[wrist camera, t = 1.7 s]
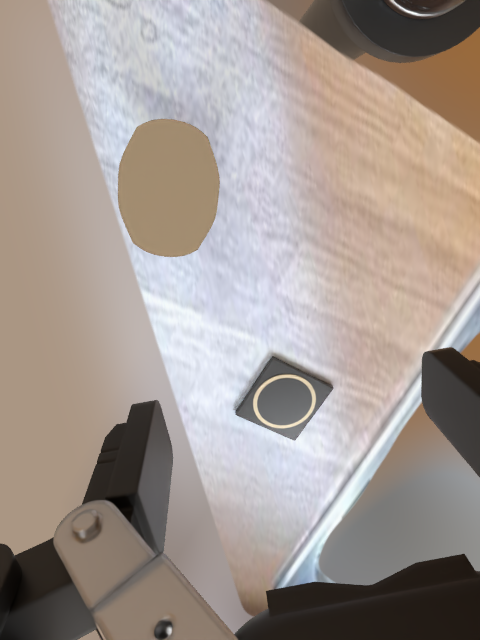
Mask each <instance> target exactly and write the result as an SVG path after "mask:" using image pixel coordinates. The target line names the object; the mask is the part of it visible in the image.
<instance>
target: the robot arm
mask: <svg viewBox="0 0 480 640" xmlns="http://www.w3.org/2000/svg"><path fill="white" fill-rule="evenodd" d="M382 1H383V2H384V3H385V4H386V5H387V6H388V7H389V8H390V9H392V10H393V11H394V12H396V13H397V14H399V15H401V16H404V17H406V18H410V19H416V20H424V19H431V18H435V17H438V16H441V15H443V14H445V13H447V12H449V11H450V10H452V9H454V8H456V7H457V6H459V5H460V4H462V3H463V2H464V1H465V0H382ZM421 397H422V403H423V406H424V409H425V411H426V413H427V415H428V416H429V418H430V419H431V420H432V421H433V422H434V424H435V425H436V426H437V427H438V428H439V429H440V431H441V432H442V433H443V434H444V435H445V437H446V438H447V439H448V440H449V441H450V442H451V444H452V445H453V446H454V447H455V448H456V450H457V451H458V452H459V453H460V454H461V456H462V457H463V458H464V459H465V460H466V461H467V463H468V464H469V465H470V466H471V467H472V468H473V470H474V471H475V472H476V473H477V475H478V476H479V477H480V362H477V361H475V360H471V361H469V360H468V359H467V358H465V357H464V356H463V355H461V354H460V353H459V352H458V351H456V350H455V349H454V348H452V347H449V348H443V349H438V350H432V351H427V352H425V353H424V354H423V357H422V390H421ZM172 465H173V453H172V445H171V441H170V437H169V434H168V430H167V427H166V423H165V420H164V416H163V413H162V409H161V406H160V403H159V401H158V400H154V401H149V402H143V403H138V404H133V405H132V406H131V409H130V412H129V416H128V419H127V423H122V424H117V425H116V426H115V427H114V428H113V429H112V430H111V431H110V433H109V434H108V435H107V436H106V437H105V440H104V443H103V446H102V449H101V453H100V454H99V457H98V460H97V465H96V466H95V469H94V472H93V475H92V478H91V480H90V483H89V486H88V489H87V492H86V495H85V497H84V500H83V503H82V505H81V506H79V507H77V508H76V509H74V510H73V511H72V512H70V513H69V514H68V515H67V516H66V517H65V518H64V519H63V520H62V521H61V522H60V524H59V525H58V527H57V529H56V531H55V534H54V537H53V538H52V539H50V540H48V541H46V542H44V543H42V544H39V545H37V546H35V547H33V548H30V549H28V550H26V551H24V552H22V553H19V554H17V555H15V556H14V554H13V552H12V551H11V549H10V548H9V547H8V546H7V545H5V544H0V640H77V639H79V638H81V637H83V636H85V635H87V634H89V633H90V632H92V631H94V630H96V632H97V634H98V636H99V638H100V640H480V571H475V570H474V568H473V567H472V565H471V563H470V562H469V561H468V559H467V557H466V556H465V554H461V555H455V556H450V557H445V558H439V559H434V560H429V561H423V562H418V563H415V564H413V565H411V566H409V567H407V568H405V569H403V570H401V571H399V572H397V573H395V574H393V575H391V576H389V577H387V578H385V579H383V580H381V581H379V582H377V583H375V584H373V585H367V586H364V585H351V584H337V583H324V582H311V583H306V584H301V585H295V586H290V587H285V588H279V589H274V590H269V591H266V594H267V601H268V609H267V610H265V611H263V612H261V613H259V614H258V615H256V616H255V617H253V618H252V619H250V620H249V621H248V622H247V623H245V624H244V625H243V626H242V627H241V628H240V629H239V630H238V631H237V632H236V633H235V634H233V633H232V632H231V630H230V629H229V628H228V627H227V626H226V624H225V623H224V622H223V621H222V620H221V619H220V617H219V616H218V615H217V614H216V613H215V612H214V611H213V609H212V608H211V607H210V606H209V604H207V602H206V601H205V600H204V599H203V598H202V597H201V595H200V594H199V593H198V592H197V590H196V589H195V588H194V587H193V586H192V585H191V584H190V582H189V581H188V580H187V579H186V577H185V576H184V575H183V574H182V573H181V572H180V570H179V569H178V568H177V567H176V566H175V565H174V563H173V562H172V561H171V560H170V559H169V558H168V557H167V556H166V555H165V554H164V553H163V551H164V542H165V532H166V523H167V513H168V503H169V493H170V484H171V475H172Z"/></svg>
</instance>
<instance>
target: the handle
mask: <svg viewBox="0 0 480 640" xmlns="http://www.w3.org/2000/svg"><path fill="white" fill-rule="evenodd" d="M219 184H220V181H219V173H218V168H217V164H216V161H215V158H214V154H213V151H212V149H211V146H210V143H209V140H208V137H207V136H206V135H205V134H203V133H202V132H201V131H200V130H199V129H197V128H196V127H194V126H192V125H190V124H187V123H185V122H181V121H177V120H172V119H157V120H151V121H148V122H146V123H143V124H142V125H140V126H138V127H137V128H136V130H135V132H134V134H133V135H132V137H131V139H130V141H129V143H128V145H127V147H126V149H125V151H124V153H123V156H122V159H121V162H120V165H119V174H118V203H119V209H120V213H121V216H122V219H123V221H124V223H125V226H126V228H127V230H128V233H129V235H130V237H131V239H132V242H133V243H134V244H135V245H137V246H138V247H139V248H141V249H143V250H144V251H146V252H149V253H151V254H154V255H159V256H164V257H178V256H184V255H187V254H190V253H192V252H194V251H196V250H198V248H199V246H200V245H201V243H202V242H203V240H204V238H205V237H206V235H207V233H208V232H209V230H210V228H211V226H212V224H213V222H214V220H215V216H216V212H217V204H218V195H219Z"/></svg>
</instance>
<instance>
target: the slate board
mask: <svg viewBox="0 0 480 640" xmlns="http://www.w3.org/2000/svg"><path fill="white" fill-rule="evenodd" d="M332 390H333V386H331V385H329V384H327V383H325V382H323V381H321V380H319V379H317V378H315V377H313V376H311V375H309V374H307V373H305V372H303V371H301V370H299V369H297V368H295V367H293V366H291V365H289V364H287V363H285V362H283V361H281V360H279V359H277V358H275V357H272V358H271V359H270V361H269V362H268V364H267V365H266V367H265V368H264V370H263V372H262V373H261V375H260V376H259V378H258V379H257V381H256V382H255V384H254V385H253V387H252V388H251V390H250V391H249V393H248V394H247V396H246V397H245V399H244V400H243V402H242V403H241V405H240V406H239V408H238V409H237V411H236V415H237V416H240V417H242V418H244V419H246V420H249V421H251V422H253V423H256V424H258V425H260V426H262V427H265V428H267V429H269V430H272V431H274V432H276V433H279V434H281V435H283V436H285V437H288V438H290V439H292V440H296V438H297V437H298V436H299V434H300V433H301V432H302V430H303V429H304V428H305V426H306V425H307V423H308V422H309V421H310V419H311V418H312V417H313V415H314V414H315V413H316V411H317V410H318V409H319V407H320V406H321V405H322V403H323V402H324V400H325V399H326V398H327V396H328V395H329V394H330V392H331V391H332Z"/></svg>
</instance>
